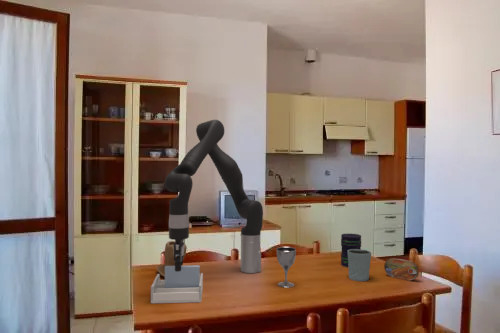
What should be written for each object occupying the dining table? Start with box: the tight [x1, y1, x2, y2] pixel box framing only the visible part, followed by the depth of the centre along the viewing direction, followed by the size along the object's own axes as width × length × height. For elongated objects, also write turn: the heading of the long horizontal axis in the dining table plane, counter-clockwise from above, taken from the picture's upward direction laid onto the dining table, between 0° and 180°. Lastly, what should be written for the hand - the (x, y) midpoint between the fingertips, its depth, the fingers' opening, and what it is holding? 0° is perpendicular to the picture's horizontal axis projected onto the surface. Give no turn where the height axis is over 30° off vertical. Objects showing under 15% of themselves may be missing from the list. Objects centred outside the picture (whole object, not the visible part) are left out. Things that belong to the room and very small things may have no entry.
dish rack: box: [150, 272, 204, 304], centre depth 150 cm, size 18×16×6 cm
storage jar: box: [340, 233, 362, 268], centre depth 195 cm, size 10×10×15 cm
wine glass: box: [276, 246, 297, 288], centre depth 163 cm, size 8×8×15 cm
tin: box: [383, 257, 420, 282], centre depth 174 cm, size 15×3×8 cm, turn 45°
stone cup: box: [155, 240, 187, 278], centre depth 177 cm, size 15×12×15 cm
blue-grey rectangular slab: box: [164, 264, 201, 288], centre depth 150 cm, size 13×2×10 cm, turn 95°
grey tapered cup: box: [347, 249, 372, 282], centre depth 173 cm, size 10×10×12 cm
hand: (179, 268), depth 150 cm, fingers open, 8 cm apart
